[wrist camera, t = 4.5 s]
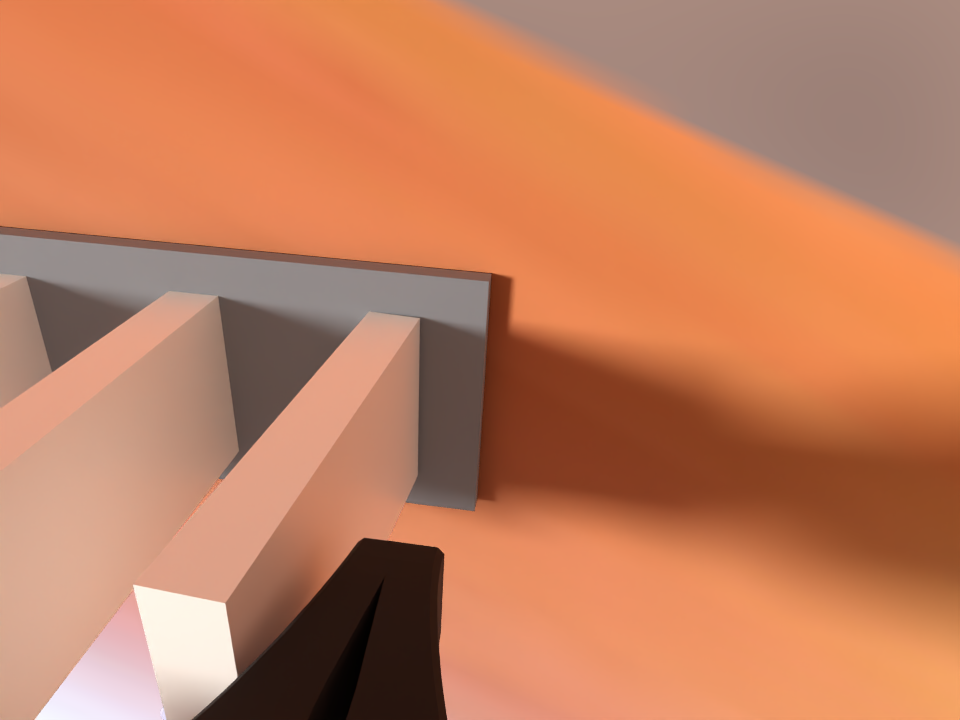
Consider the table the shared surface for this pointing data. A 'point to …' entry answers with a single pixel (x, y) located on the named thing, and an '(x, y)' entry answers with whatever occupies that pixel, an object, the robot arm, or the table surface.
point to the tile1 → (286, 516)
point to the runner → (278, 328)
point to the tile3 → (19, 340)
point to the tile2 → (103, 483)
